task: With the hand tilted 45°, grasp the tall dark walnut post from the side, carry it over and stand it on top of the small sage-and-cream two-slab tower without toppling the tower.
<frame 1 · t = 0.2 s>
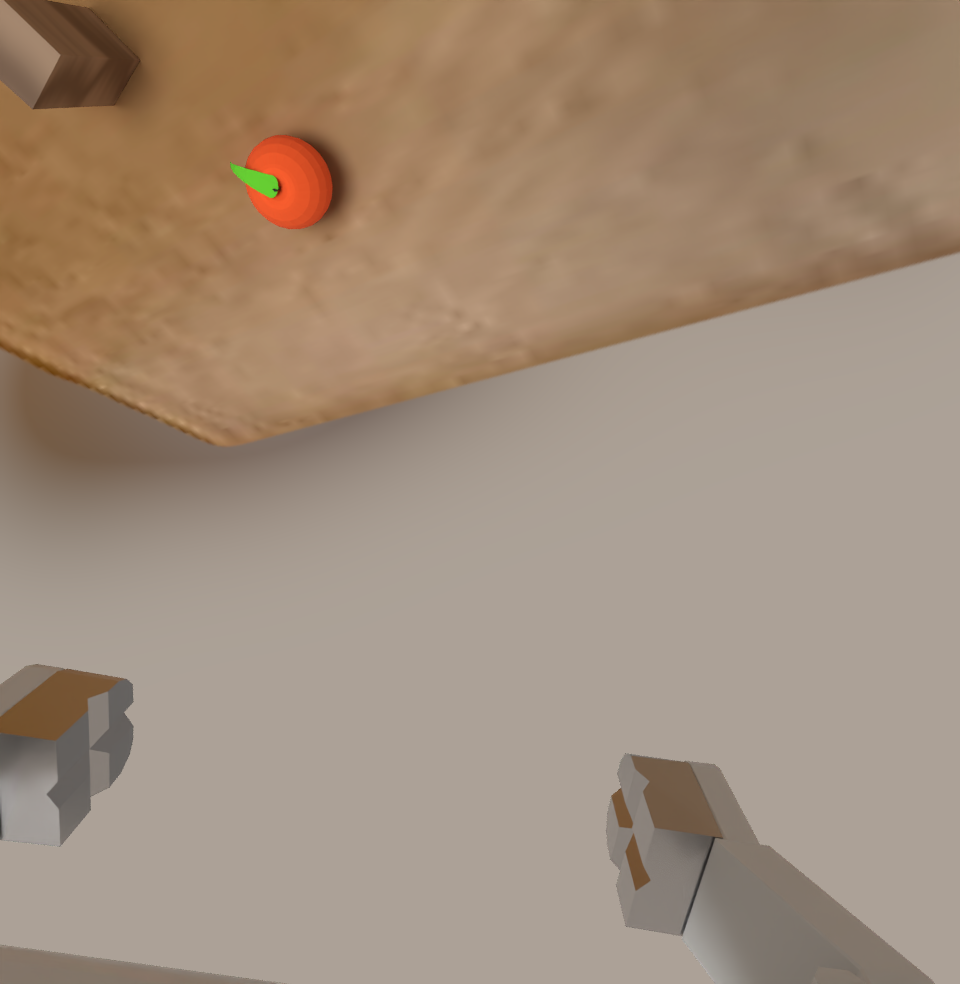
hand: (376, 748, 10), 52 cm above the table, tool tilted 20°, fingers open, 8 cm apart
walnut post: (101, 58, 48), on the table
clementine: (297, 175, 52), on the table
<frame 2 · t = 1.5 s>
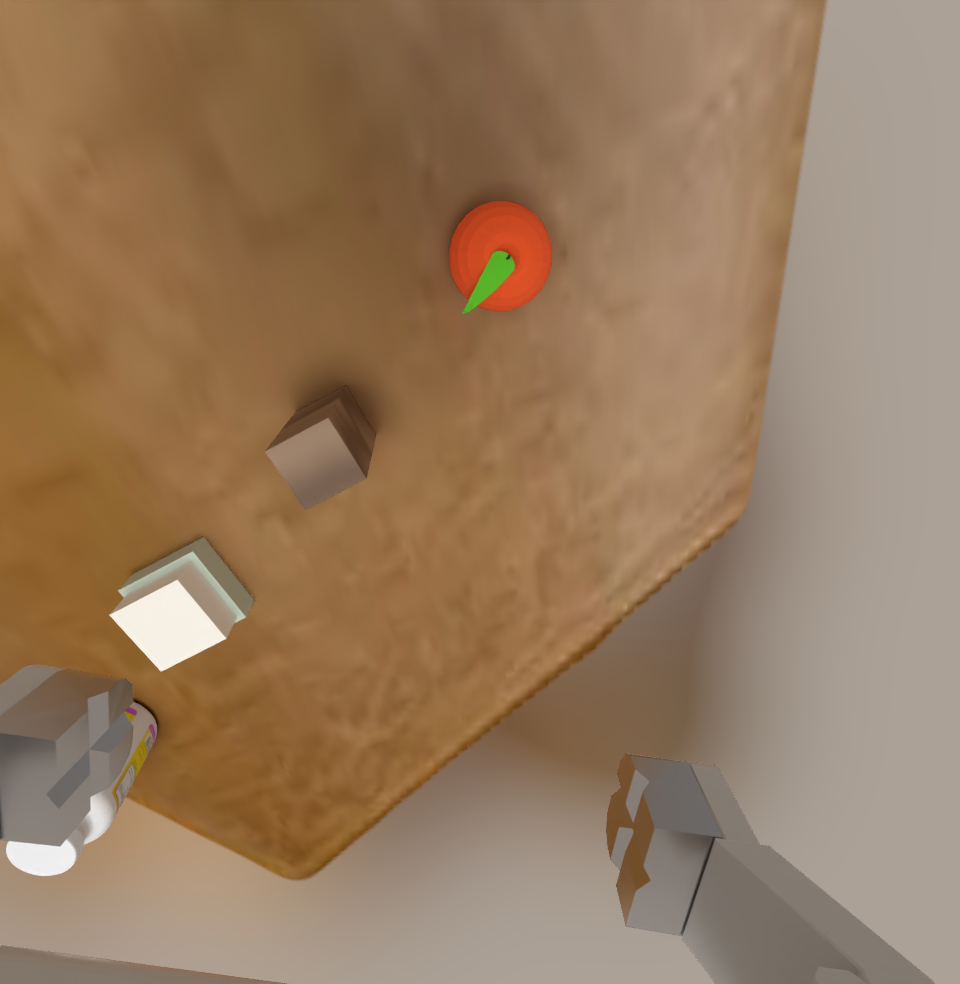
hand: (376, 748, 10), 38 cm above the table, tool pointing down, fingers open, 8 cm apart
walnut post: (336, 423, 47), on the table
tower base: (196, 585, 51), on the table, touching tower cap
tower cap: (183, 605, 48), point 3 cm above the table, touching tower base
supplement bottle: (123, 722, 55), on the table
clementine: (489, 263, 44), on the table
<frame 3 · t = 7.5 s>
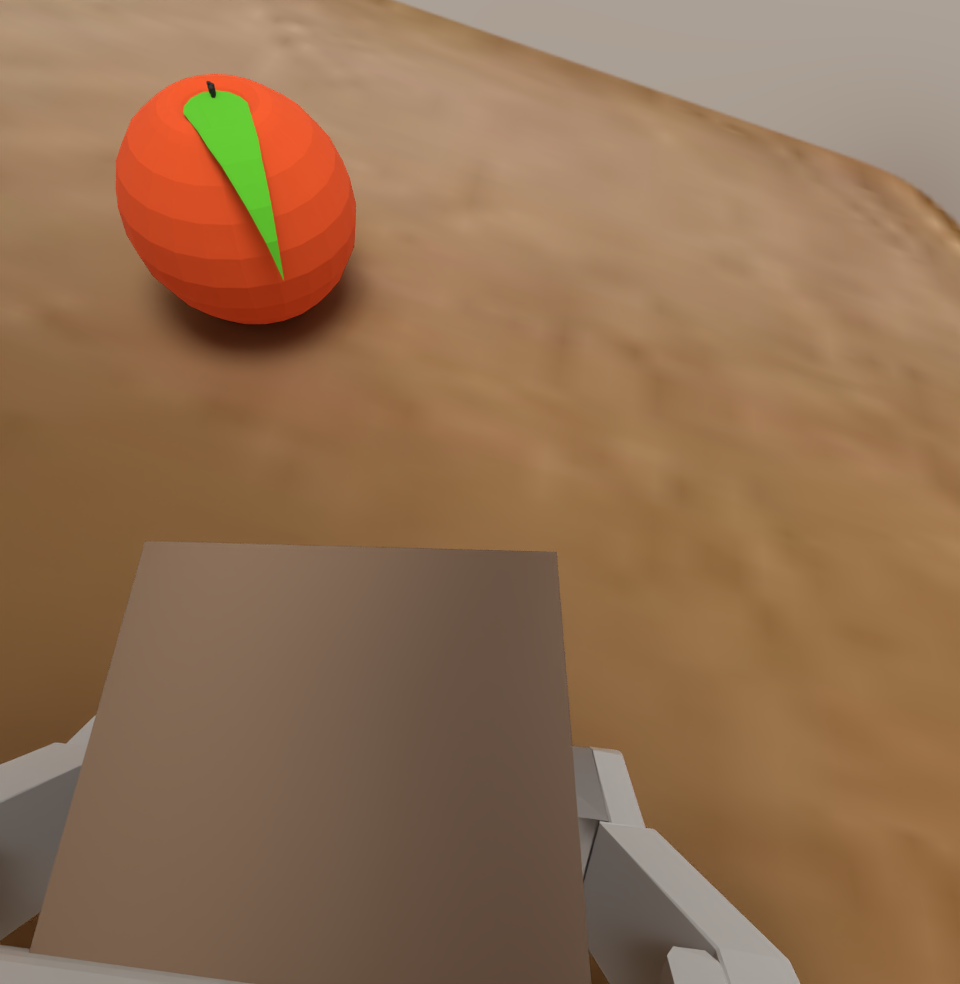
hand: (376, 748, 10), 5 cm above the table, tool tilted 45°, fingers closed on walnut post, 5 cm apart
walnut post: (383, 801, 14), on the table, touching gripper
clementine: (273, 308, 22), on the table
when the fingers open (12 cm above the table, at t = 11.9 s): walnut post drops 1 cm, resting on tower cap.
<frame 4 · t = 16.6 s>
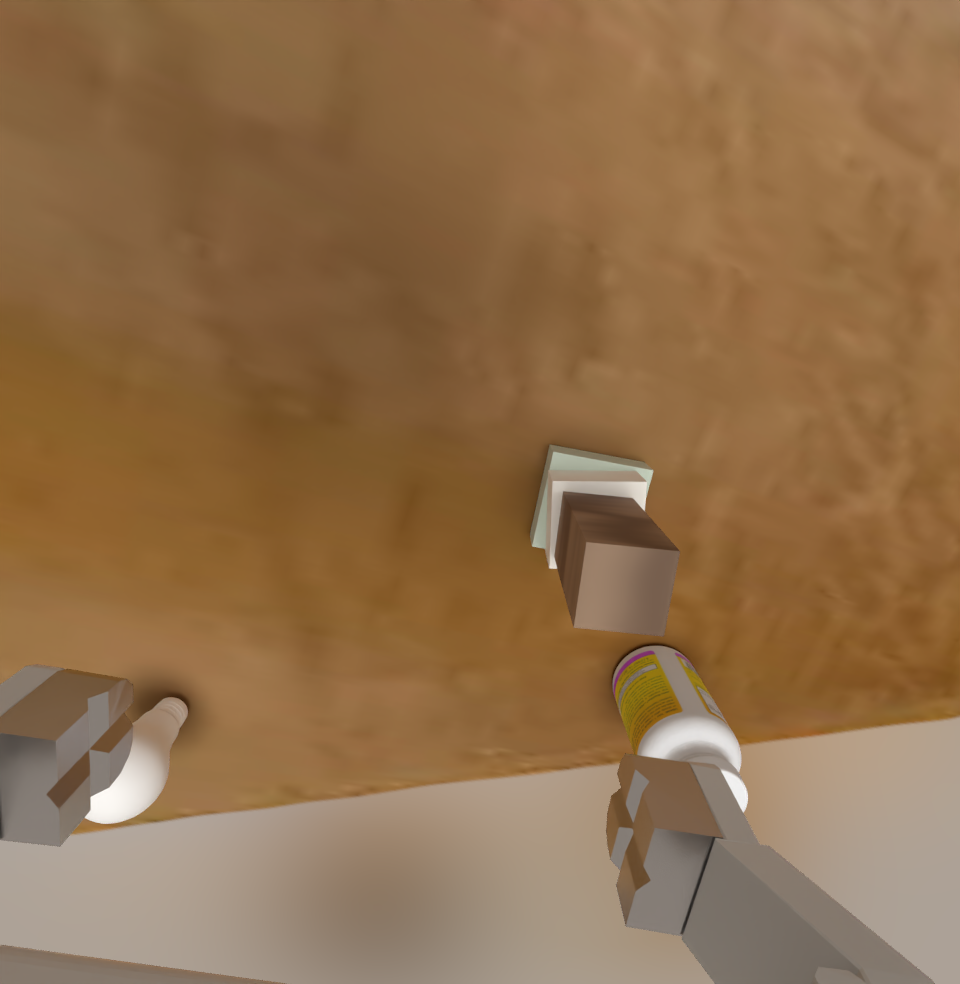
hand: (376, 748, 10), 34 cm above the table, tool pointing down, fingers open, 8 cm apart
walnut post: (592, 527, 39), point 6 cm above the table, touching tower cap
tower base: (585, 497, 45), on the table, touching tower cap
lightbulb: (178, 703, 50), on the table
tower cap: (589, 512, 42), point 2 cm above the table, touching tower base, walnut post
supplement bottle: (651, 677, 48), on the table
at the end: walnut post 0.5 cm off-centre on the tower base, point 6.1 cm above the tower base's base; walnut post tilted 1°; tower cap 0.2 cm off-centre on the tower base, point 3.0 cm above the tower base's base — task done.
